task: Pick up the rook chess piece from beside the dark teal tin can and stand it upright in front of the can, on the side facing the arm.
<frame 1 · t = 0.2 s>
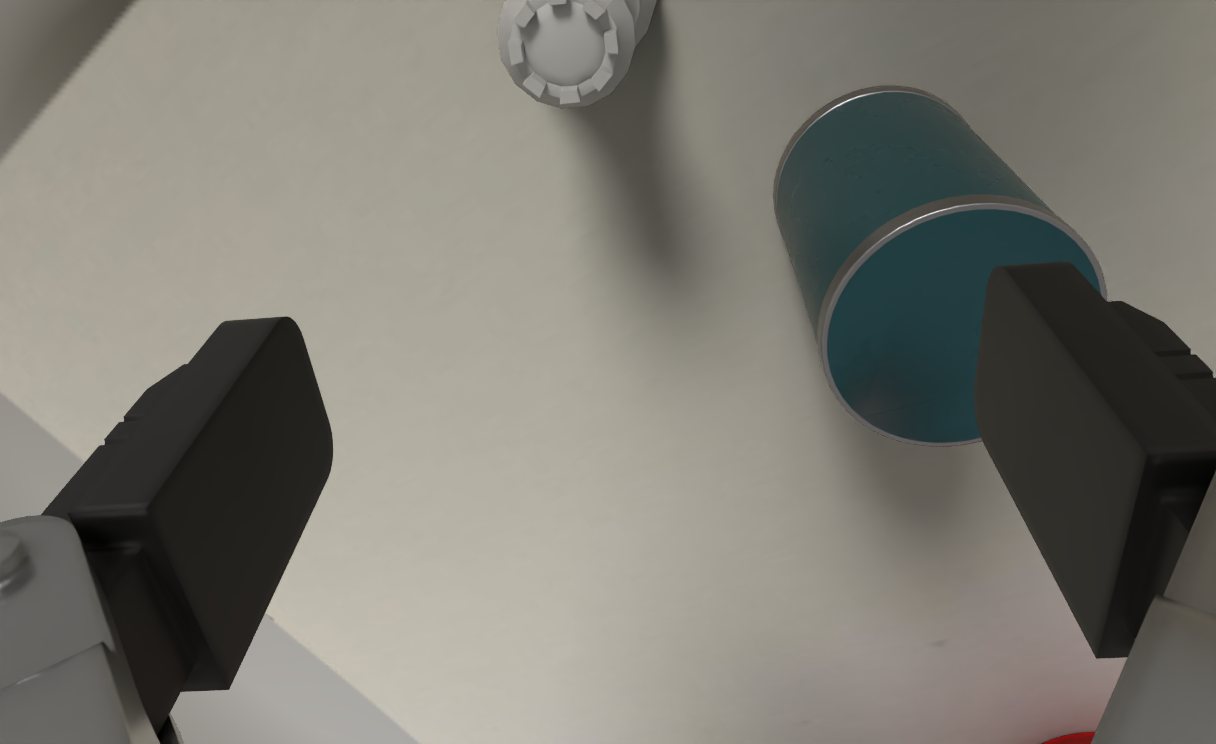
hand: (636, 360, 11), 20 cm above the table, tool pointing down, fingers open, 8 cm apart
tin can: (874, 187, 31), on the table
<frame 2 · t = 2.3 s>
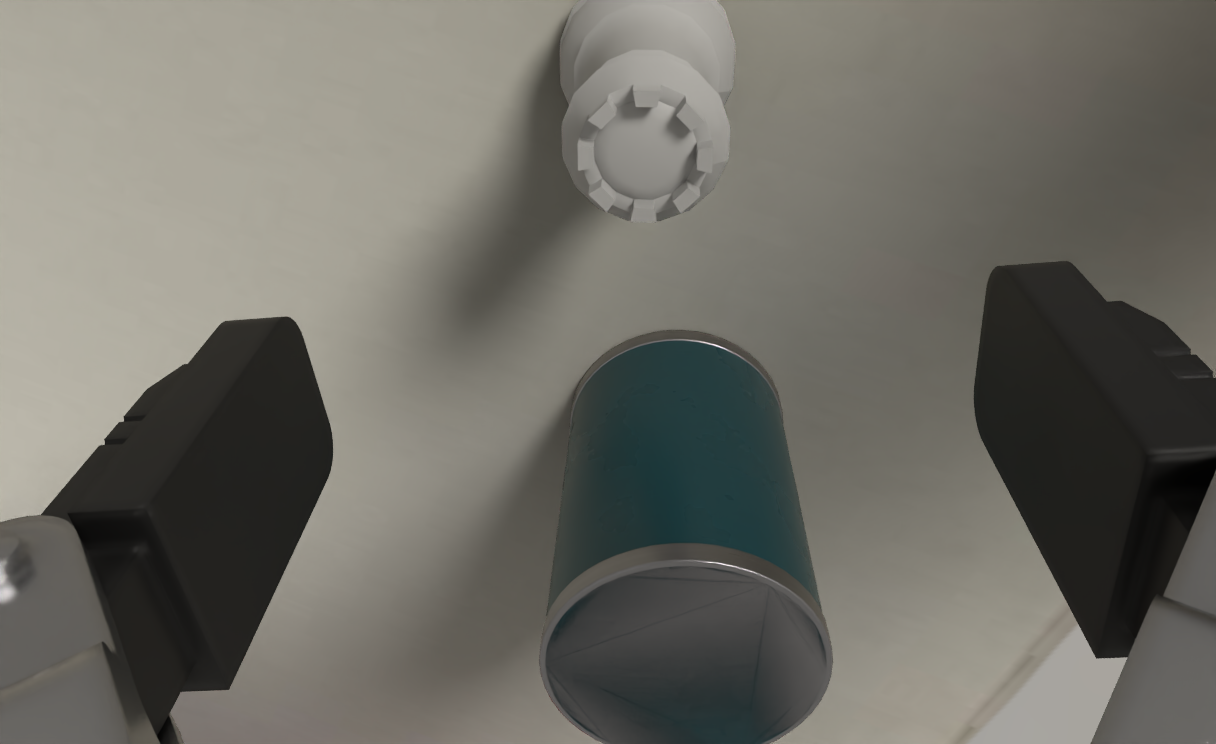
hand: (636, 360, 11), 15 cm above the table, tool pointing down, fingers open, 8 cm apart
rook chess piece: (647, 53, 24), on the table
tin can: (675, 420, 30), on the table
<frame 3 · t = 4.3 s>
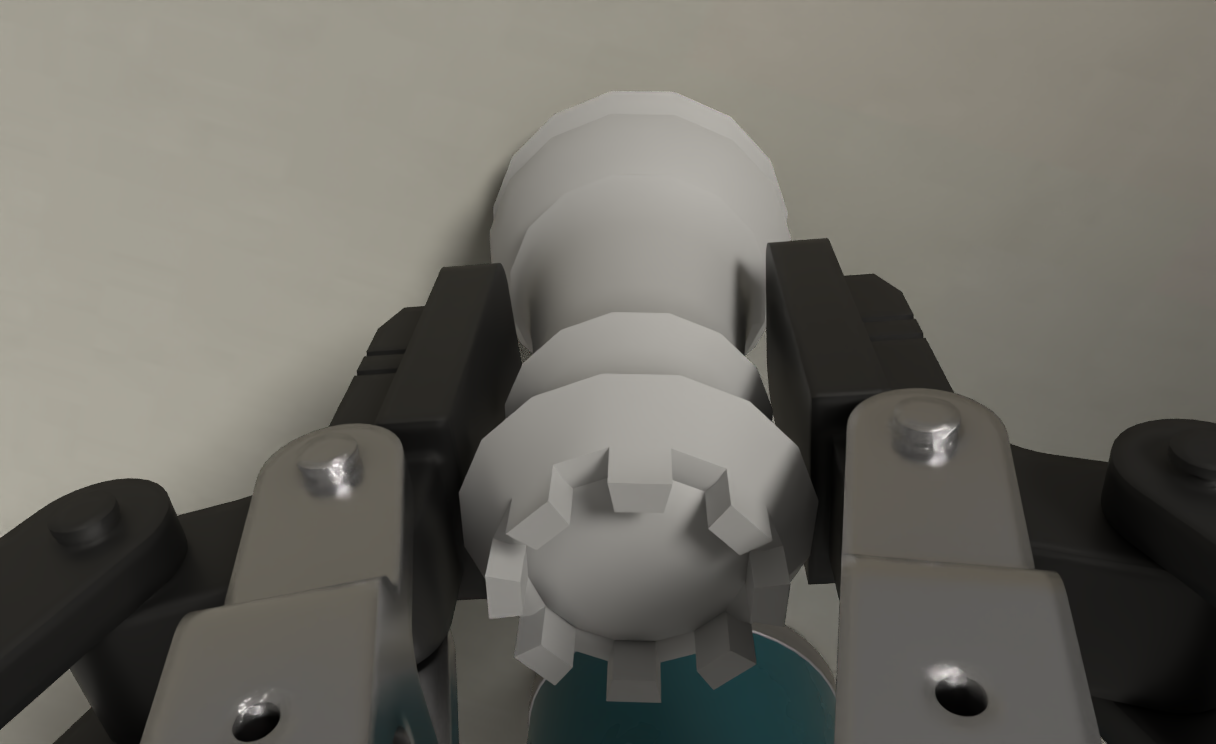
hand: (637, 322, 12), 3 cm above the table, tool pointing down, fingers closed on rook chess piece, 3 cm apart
rook chess piece: (639, 220, 15), on the table, touching gripper
tin can: (683, 709, 20), on the table
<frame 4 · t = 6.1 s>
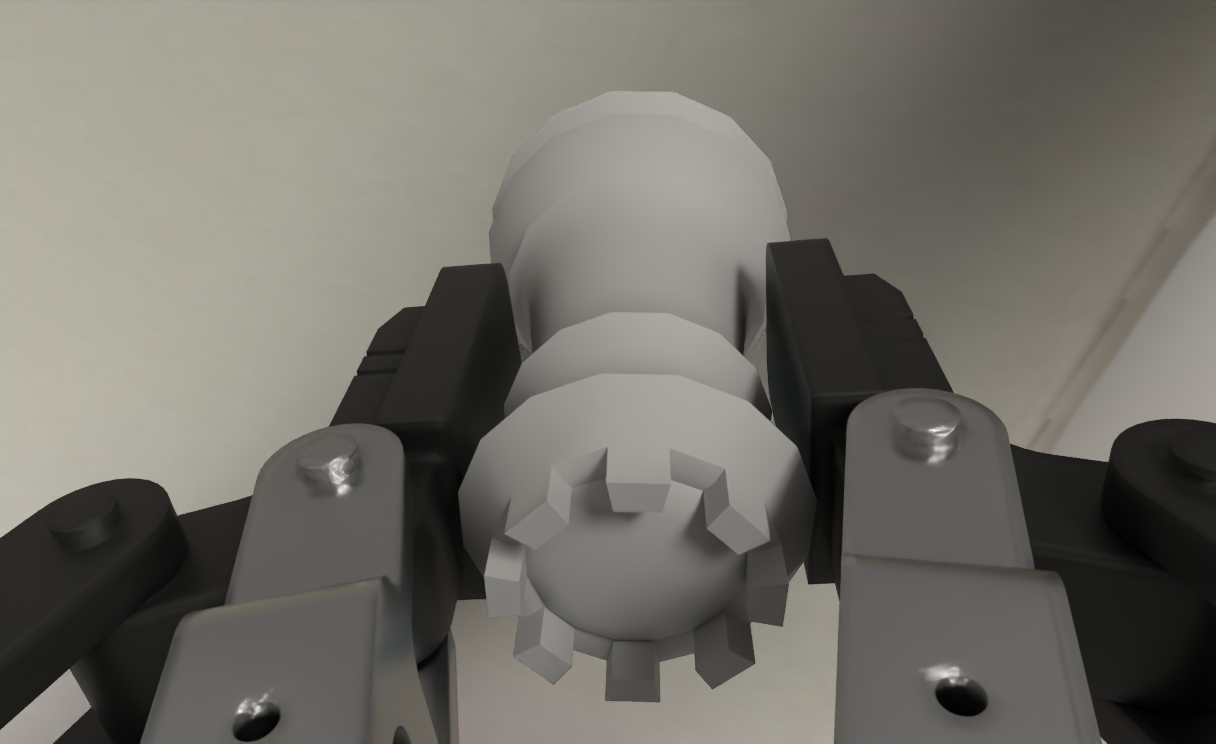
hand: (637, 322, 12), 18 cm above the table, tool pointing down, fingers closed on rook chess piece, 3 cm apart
rook chess piece: (638, 220, 15), point 15 cm above the table, touching gripper
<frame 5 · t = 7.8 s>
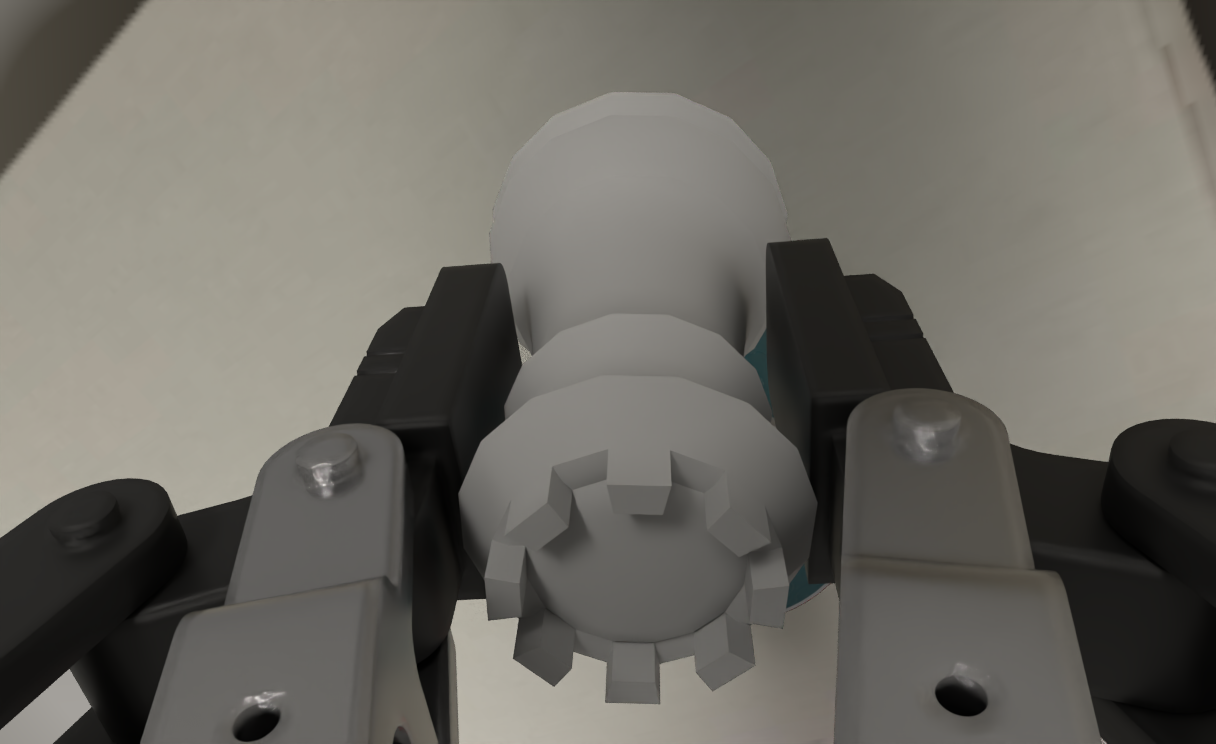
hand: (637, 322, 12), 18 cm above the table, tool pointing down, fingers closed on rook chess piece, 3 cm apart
rook chess piece: (639, 221, 15), point 15 cm above the table, touching gripper
tin can: (706, 341, 33), on the table
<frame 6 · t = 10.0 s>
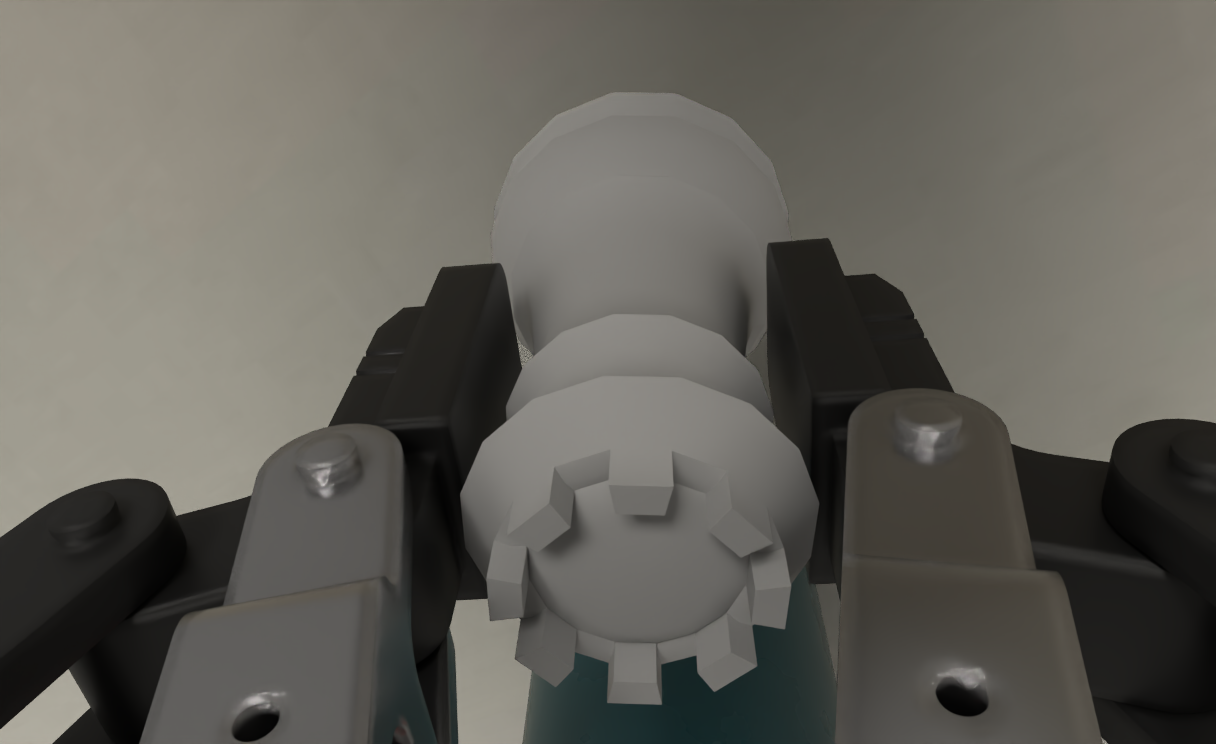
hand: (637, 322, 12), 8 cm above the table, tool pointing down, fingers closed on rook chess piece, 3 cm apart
rook chess piece: (640, 221, 15), point 4 cm above the table, touching gripper
tin can: (676, 553, 24), on the table
when the fingers open (3 cm above the table, at t = 11.4 s): rook chess piece stays where it is, on the table.
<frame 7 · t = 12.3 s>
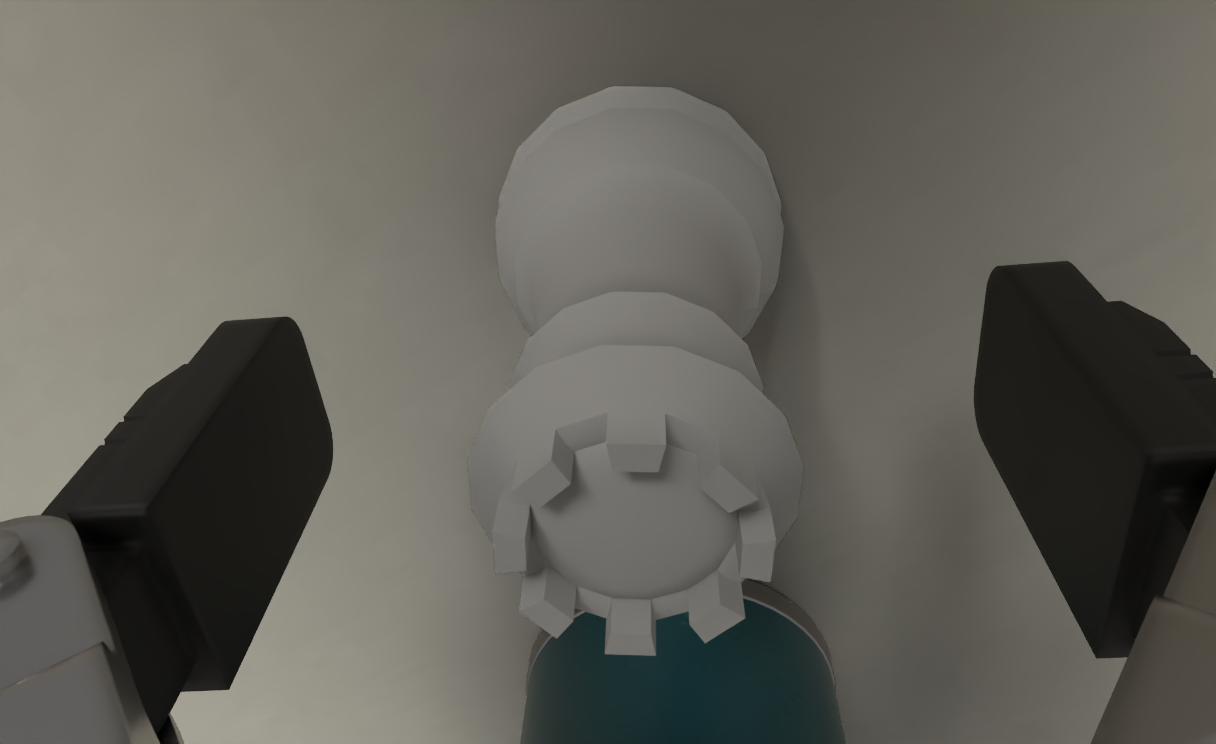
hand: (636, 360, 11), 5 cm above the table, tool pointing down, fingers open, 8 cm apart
rook chess piece: (638, 211, 15), on the table
tin can: (678, 678, 21), on the table
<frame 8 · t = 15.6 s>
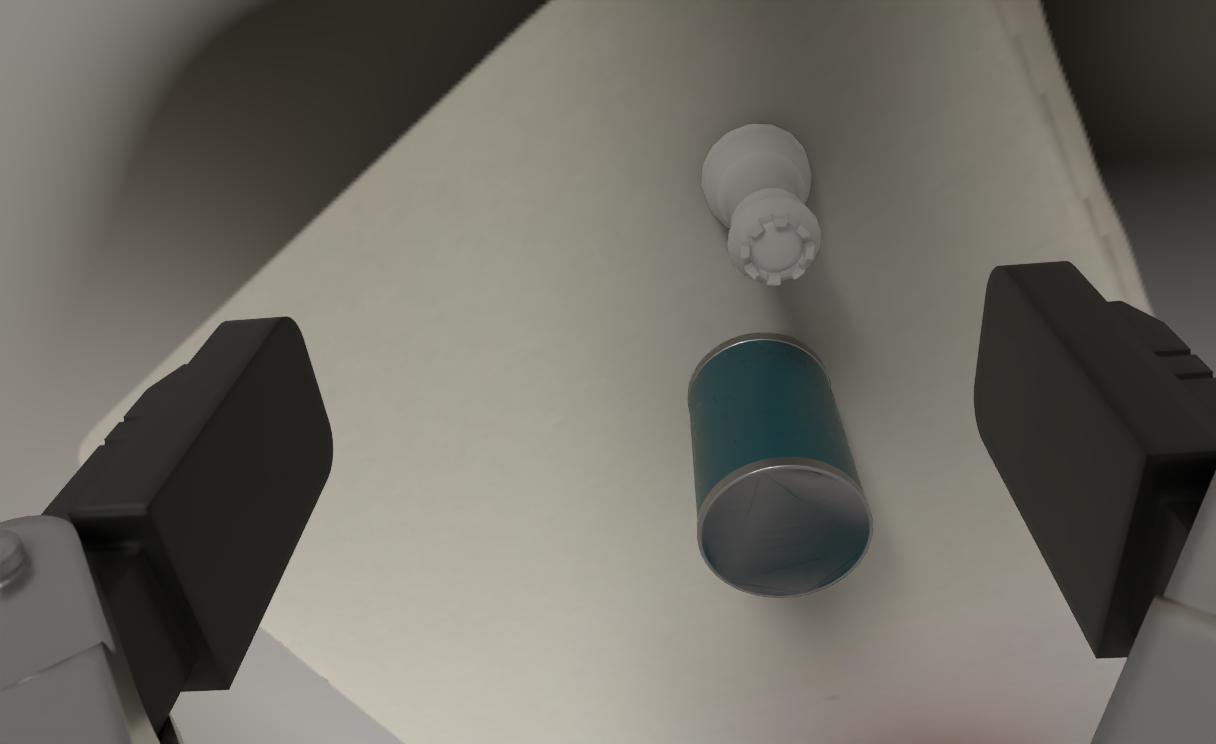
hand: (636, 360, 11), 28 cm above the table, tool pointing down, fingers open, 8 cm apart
rook chess piece: (753, 171, 39), on the table
tin can: (758, 394, 44), on the table
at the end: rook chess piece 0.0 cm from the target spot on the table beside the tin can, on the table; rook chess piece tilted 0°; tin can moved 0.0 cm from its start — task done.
